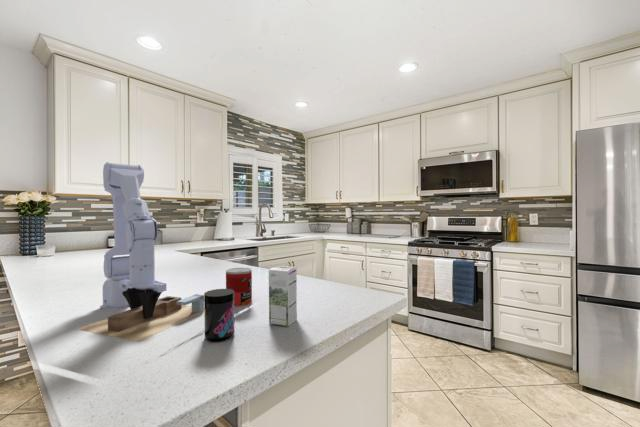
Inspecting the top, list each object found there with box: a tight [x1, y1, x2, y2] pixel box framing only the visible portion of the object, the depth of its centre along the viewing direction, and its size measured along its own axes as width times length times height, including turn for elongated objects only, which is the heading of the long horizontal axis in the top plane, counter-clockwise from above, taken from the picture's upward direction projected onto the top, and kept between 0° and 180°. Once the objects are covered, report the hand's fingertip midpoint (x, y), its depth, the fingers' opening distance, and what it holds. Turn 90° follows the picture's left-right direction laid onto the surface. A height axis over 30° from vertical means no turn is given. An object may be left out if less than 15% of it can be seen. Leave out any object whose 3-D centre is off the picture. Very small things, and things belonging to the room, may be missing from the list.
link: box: [107, 295, 182, 332], centre depth 80 cm, size 19×5×3 cm, turn 160°
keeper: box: [177, 293, 204, 313], centre depth 83 cm, size 3×7×4 cm, turn 160°
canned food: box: [225, 267, 253, 307], centre depth 94 cm, size 8×8×11 cm
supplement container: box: [203, 288, 235, 343], centre depth 70 cm, size 7×7×10 cm
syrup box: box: [268, 265, 298, 328], centre depth 79 cm, size 6×6×14 cm
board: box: [76, 305, 204, 342], centre depth 80 cm, size 21×23×1 cm
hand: (142, 316), depth 79 cm, fingers closed on link, 3 cm apart
